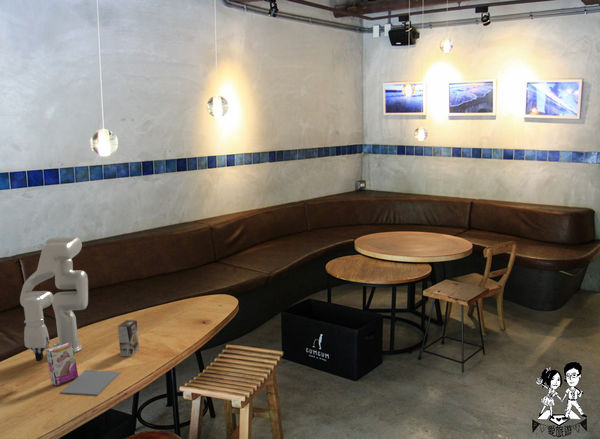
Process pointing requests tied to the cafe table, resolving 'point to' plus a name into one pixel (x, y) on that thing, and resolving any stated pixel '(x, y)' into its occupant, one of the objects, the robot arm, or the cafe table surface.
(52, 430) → the cafe table surface
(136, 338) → the coffee box
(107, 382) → the mat
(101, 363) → the cafe table surface
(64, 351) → the candy bar box
